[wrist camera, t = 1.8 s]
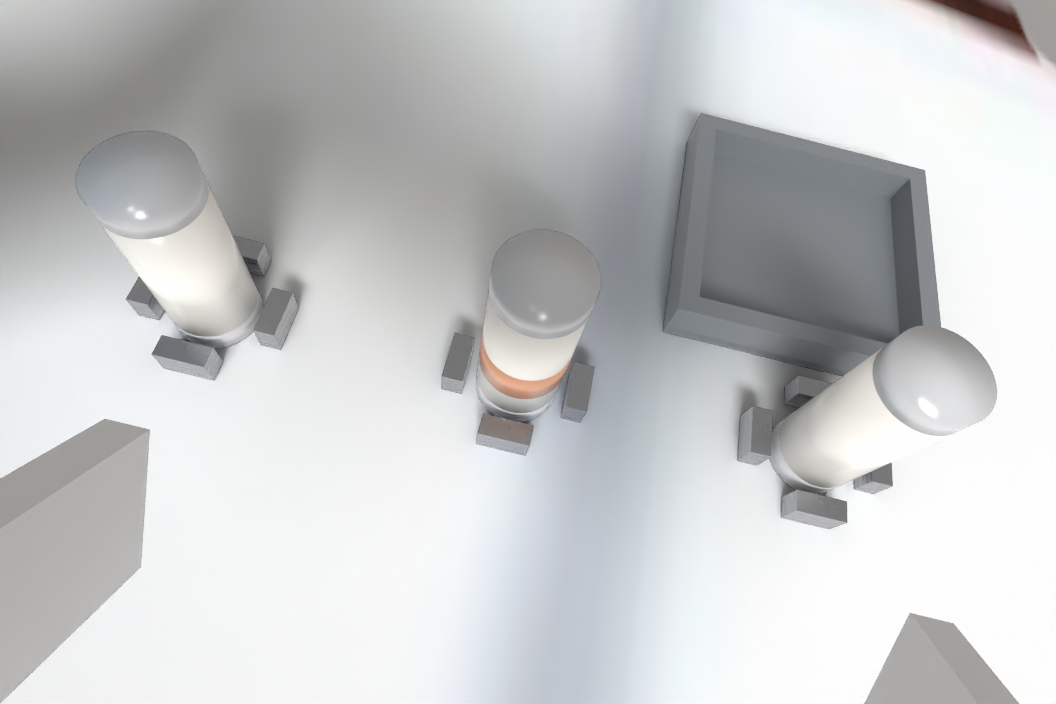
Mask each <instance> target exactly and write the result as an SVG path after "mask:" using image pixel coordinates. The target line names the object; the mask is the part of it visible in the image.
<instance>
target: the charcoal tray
mask: <svg viewBox="0 0 1056 704" xmlns="http://www.w3.org/2000/svg"><path fill="white" fill-rule="evenodd" d="M923 325H930V326H937V327H941V322H940V312H939V302H938V293H937V283H936V273H935V263H934V254H933V244H932V234H931V224H930V215H929V205H928V195H927V185H926V176H925V170H922V169H918V168H914V167H910V166H906V165H903V164H899V163H895V162H891V161H887V160H883V159H879V158H875V157H871V156H867V155H863V154H859V153H856V152H852V151H848V150H844V149H840V148H836V147H832V146H828V145H824V144H820V143H816V142H812V141H809V140H805V139H801V138H797V137H793V136H789V135H785V134H781V133H777V132H773V131H769V130H765V129H761V128H758V127H754V126H750V125H746V124H742V123H738V122H734V121H730V120H726V119H722V118H718V117H714V116H711V115H707V114H703V113H701V114H700V117H699V119H698V121H697V123H696V125H695V127H694V129H693V131H692V133H691V135H690V138H689V140H688V142H687V145H686V153H685V161H684V169H683V177H682V185H681V193H680V201H679V209H678V217H677V225H676V233H675V240H674V248H673V256H672V264H671V272H670V280H669V288H668V296H667V304H666V312H665V320H664V328H663V332H666V333H670V334H674V335H678V336H682V337H686V338H690V339H694V340H698V341H702V342H706V343H710V344H714V345H718V346H722V347H726V348H730V349H734V350H739V351H743V352H747V353H751V354H755V355H759V356H763V357H767V358H771V359H775V360H779V361H783V362H787V363H791V364H795V365H799V366H803V367H807V368H811V369H815V370H819V371H823V372H828V373H832V374H836V375H840V376H844V375H845V374H847V373H848V372H850V371H851V370H852V369H854V368H855V367H856V366H858V365H859V364H861V363H862V362H863V361H865V360H866V359H867V358H869V357H870V356H872V355H873V354H874V353H876V352H877V351H879V350H880V349H881V348H883V347H884V346H885V345H887V344H888V343H890V342H891V341H892V340H894V339H895V338H896V337H898V336H899V335H901V334H902V333H903V332H905V331H906V330H908V329H910V328H913V327H916V326H923Z"/></svg>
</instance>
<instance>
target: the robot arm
mask: <svg viewBox="0 0 1056 704" xmlns="http://www.w3.org/2000/svg"><path fill="white" fill-rule="evenodd" d="M149 435H150V430H149V429H145V428H141V427H136V426H132V425H128V424H124V423H120V422H116V421H112V420H107V419H104V420H102V421H100V422H98V423H97V424H95V425H93V426H91V427H90V428H88V429H86V430H84V431H83V432H81V433H79V434H77V435H76V436H74V437H72V438H71V439H69V440H67V441H65V442H64V443H62V444H60V445H58V446H57V447H55V448H53V449H51V450H50V451H48V452H46V453H44V454H43V455H41V456H39V457H37V458H36V459H34V460H32V461H30V462H29V463H27V464H25V465H23V466H22V467H20V468H18V469H17V470H15V471H13V472H11V473H10V474H8V475H6V476H4V477H3V478H1V479H0V703H1V702H2V701H3V700H4V699H5V698H6V697H7V696H8V695H9V694H10V693H11V692H12V691H13V690H15V689H16V688H17V687H18V686H19V685H20V684H21V683H22V682H23V681H24V680H25V679H26V678H27V677H28V676H29V675H30V674H31V673H32V672H33V671H34V670H35V669H36V668H37V667H38V666H39V665H40V664H41V663H42V662H43V661H44V660H45V659H46V658H48V657H49V656H50V655H51V654H52V653H53V652H54V651H55V650H56V649H57V648H58V647H59V646H60V645H61V644H62V643H63V642H64V641H65V640H66V639H67V638H68V637H69V636H70V635H71V634H72V633H73V632H74V631H75V630H76V629H77V628H78V627H80V626H81V625H82V624H83V623H84V622H85V621H86V620H87V619H88V618H89V617H90V616H91V615H92V614H93V613H94V612H95V611H96V610H97V609H98V608H99V607H100V606H101V605H102V604H103V603H104V602H105V601H106V600H107V599H108V598H109V597H110V596H111V595H113V594H114V593H115V592H116V591H117V590H118V589H119V588H120V587H121V586H122V585H123V584H124V583H125V582H126V581H127V580H128V579H129V578H130V577H131V576H132V575H133V574H134V573H135V572H136V571H137V570H138V569H139V568H140V567H141V558H142V543H143V527H144V512H145V497H146V481H147V466H148V450H149ZM865 704H1019V703H1018V702H1017V700H1016V699H1015V698H1014V697H1013V696H1012V694H1011V693H1010V692H1009V691H1008V689H1007V688H1006V687H1005V686H1004V685H1003V683H1002V682H1001V681H1000V680H999V678H998V677H997V676H996V675H995V674H994V672H993V671H992V670H991V669H990V667H989V666H988V665H987V664H986V663H985V661H984V660H983V659H982V658H981V656H980V655H979V654H978V653H977V652H976V650H975V649H974V648H973V647H972V646H971V644H970V643H969V642H968V641H967V639H966V638H965V637H964V636H963V635H962V633H961V632H960V631H959V630H958V628H957V627H956V626H955V625H954V624H953V623H949V622H945V621H941V620H937V619H933V618H928V617H924V616H920V615H916V614H912V613H910V614H909V616H908V618H907V620H906V622H905V624H904V626H903V628H902V630H901V632H900V634H899V636H898V638H897V640H896V642H895V644H894V646H893V648H892V650H891V652H890V654H889V656H888V658H887V660H886V662H885V664H884V666H883V668H882V670H881V672H880V674H879V676H878V678H877V680H876V682H875V684H874V686H873V688H872V690H871V692H870V694H869V696H868V698H867V700H866V702H865Z"/></svg>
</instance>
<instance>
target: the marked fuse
mask: <svg viewBox="0 0 1056 704" xmlns="http://www.w3.org/2000/svg"><path fill="white" fill-rule="evenodd" d="M600 289H601V274H600V269H599V266H598V264H597V262H596V260H595V258H594V256H593V255H592V254H591V252H590V251H589V250H588V249H587V248H586V247H585V246H584V245H583V244H582V243H580V242H579V241H577V240H576V239H574V238H572V237H571V236H568V235H566V234H564V233H560V232H557V231H552V230H531V231H526V232H523V233H520V234H517V235H516V236H514V237H512V238H510V239H509V240H508V241H506V242H505V243H504V244H503V245H502V246H501V248H500V249H499V250H498V252H497V254H496V255H495V258H494V261H493V265H492V271H491V278H490V285H489V292H488V299H487V306H486V313H485V320H484V327H483V332H482V338H481V346H480V353H479V363H478V370H477V377H476V389H477V394H478V396H479V399H480V400H481V402H482V404H483V405H484V406H485V408H486V409H487V410H488V411H489V412H491V413H492V414H493V415H495V416H497V417H501V418H505V419H509V420H513V421H517V422H524V421H529V420H532V419H534V418H537V417H538V416H540V415H541V414H543V413H544V412H545V411H546V410H547V409H548V408H549V406H550V405H551V403H552V401H553V399H554V397H555V394H556V392H557V390H558V387H559V385H560V383H561V381H562V379H563V377H564V375H565V372H566V370H567V368H568V366H569V363H570V361H571V359H572V356H573V354H574V351H575V348H576V346H577V344H578V341H579V339H580V337H581V334H582V332H583V330H584V327H585V325H586V323H587V321H588V318H589V316H590V314H591V311H592V309H593V307H594V304H595V302H596V300H597V298H598V295H599V292H600Z"/></svg>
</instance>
